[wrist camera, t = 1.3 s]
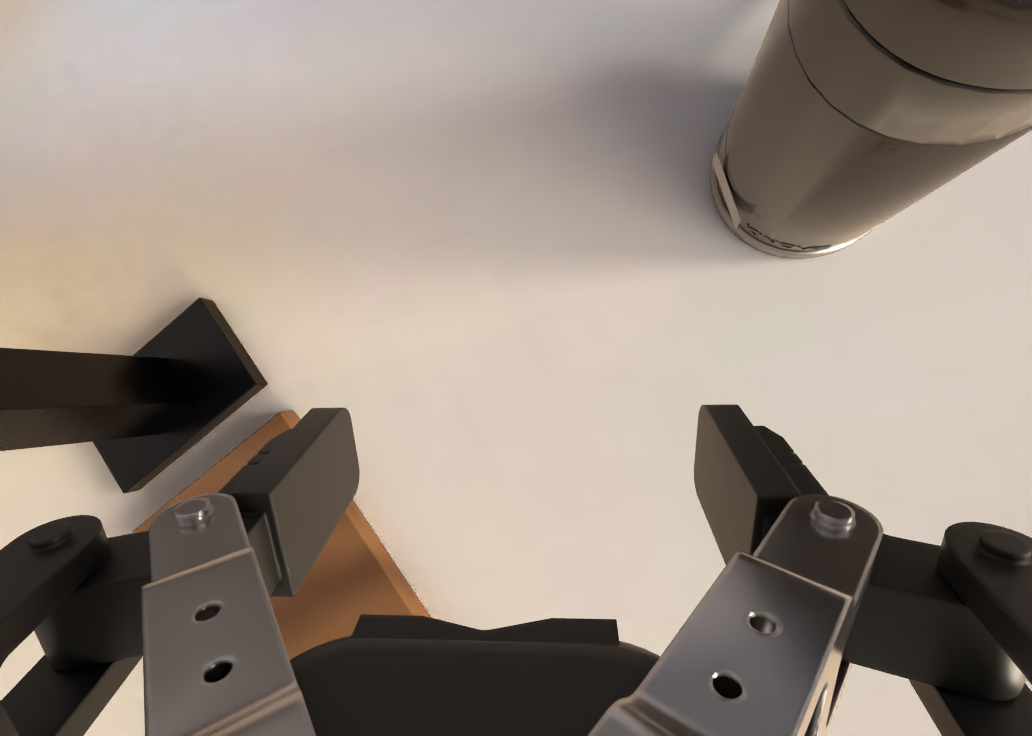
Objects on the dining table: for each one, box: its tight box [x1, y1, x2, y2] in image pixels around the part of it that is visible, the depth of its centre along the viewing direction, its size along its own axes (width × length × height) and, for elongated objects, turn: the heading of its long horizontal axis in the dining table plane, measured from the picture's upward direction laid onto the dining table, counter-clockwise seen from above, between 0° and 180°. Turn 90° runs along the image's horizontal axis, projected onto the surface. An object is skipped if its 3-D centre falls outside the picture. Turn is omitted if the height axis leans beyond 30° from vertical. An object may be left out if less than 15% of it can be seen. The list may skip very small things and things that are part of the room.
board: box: [133, 411, 431, 660], centre depth 34 cm, size 21×13×2 cm, turn 37°
